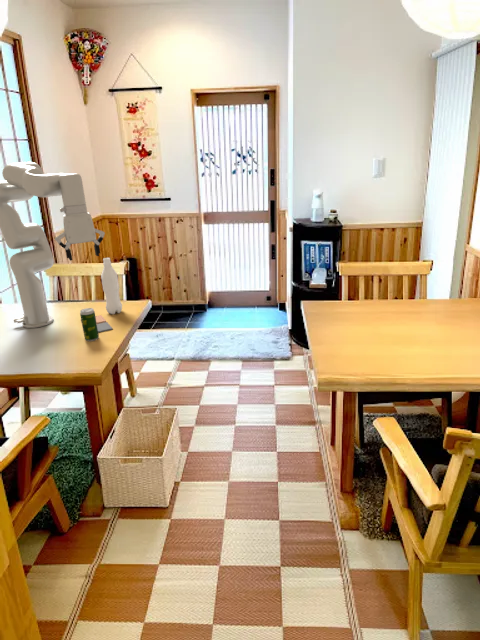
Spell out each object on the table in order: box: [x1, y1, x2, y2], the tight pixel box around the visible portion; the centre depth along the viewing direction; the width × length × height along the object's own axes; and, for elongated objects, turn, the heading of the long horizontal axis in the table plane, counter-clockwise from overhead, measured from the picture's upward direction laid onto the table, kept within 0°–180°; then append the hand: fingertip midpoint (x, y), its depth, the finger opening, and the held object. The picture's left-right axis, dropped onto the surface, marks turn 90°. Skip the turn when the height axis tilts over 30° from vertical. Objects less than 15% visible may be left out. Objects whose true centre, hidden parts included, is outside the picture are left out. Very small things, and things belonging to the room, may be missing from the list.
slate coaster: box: [97, 321, 114, 334], centre depth 192 cm, size 9×9×1 cm
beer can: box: [79, 307, 100, 342], centre depth 180 cm, size 5×5×12 cm
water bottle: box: [100, 257, 123, 315], centre depth 207 cm, size 7×7×25 cm
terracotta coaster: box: [80, 314, 107, 324], centre depth 201 cm, size 9×9×1 cm
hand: (84, 257), depth 170 cm, fingers open, 9 cm apart
